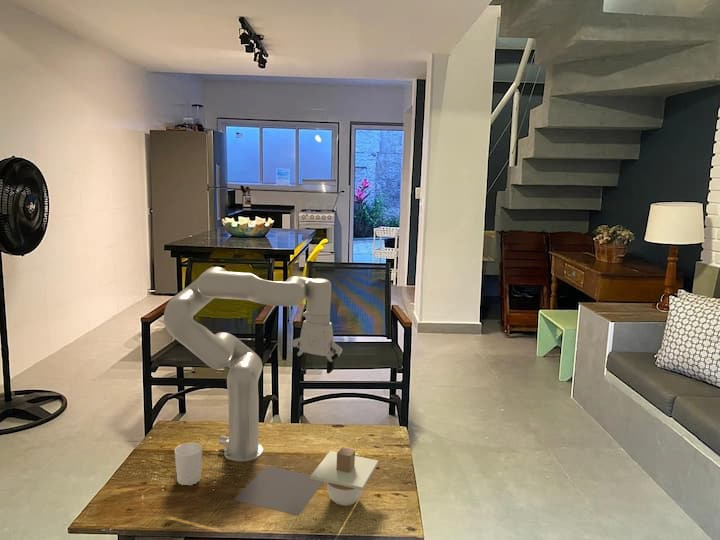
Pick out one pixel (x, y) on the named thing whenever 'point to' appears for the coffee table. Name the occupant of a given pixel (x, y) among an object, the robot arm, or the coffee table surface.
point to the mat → (280, 490)
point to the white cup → (188, 463)
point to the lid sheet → (344, 476)
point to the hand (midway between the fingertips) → (315, 369)
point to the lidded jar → (343, 494)
